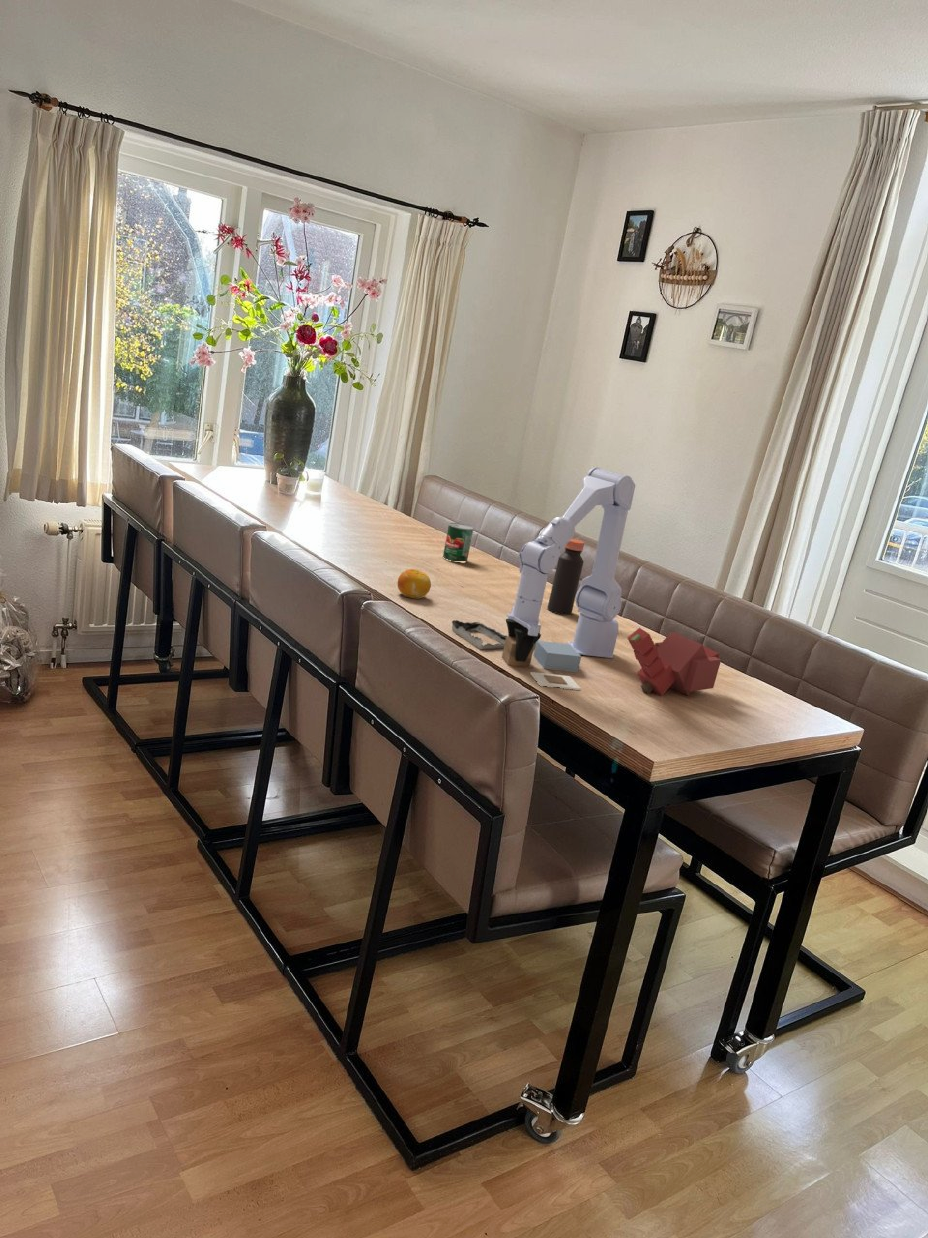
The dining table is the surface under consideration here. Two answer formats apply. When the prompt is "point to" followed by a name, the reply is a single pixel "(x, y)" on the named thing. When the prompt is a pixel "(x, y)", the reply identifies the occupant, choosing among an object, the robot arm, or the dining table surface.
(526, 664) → the walnut block
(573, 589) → the bottle
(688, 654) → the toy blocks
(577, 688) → the card
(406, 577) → the fruit
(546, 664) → the slate base block
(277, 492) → the dining table surface
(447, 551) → the canned tomato
